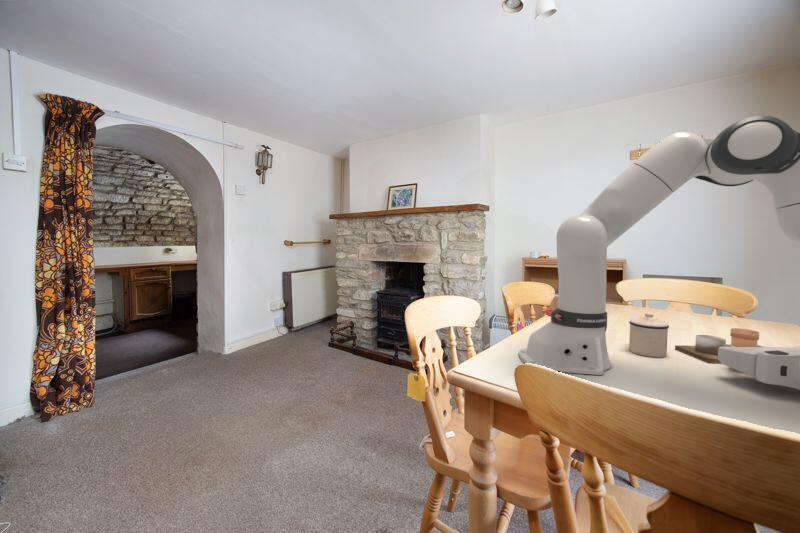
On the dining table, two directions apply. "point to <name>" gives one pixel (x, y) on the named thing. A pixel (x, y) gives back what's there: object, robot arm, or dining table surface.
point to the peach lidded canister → (744, 338)
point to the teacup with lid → (648, 336)
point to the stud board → (697, 354)
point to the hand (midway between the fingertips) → (739, 347)
